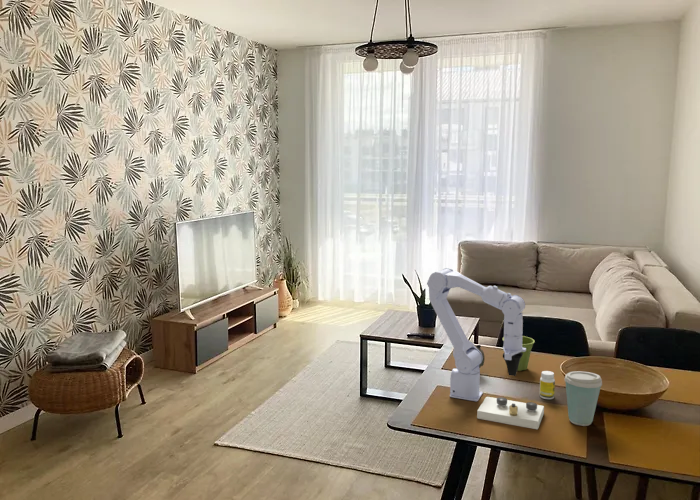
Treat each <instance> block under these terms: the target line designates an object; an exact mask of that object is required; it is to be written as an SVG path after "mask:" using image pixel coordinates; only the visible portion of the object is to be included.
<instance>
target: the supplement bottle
mask: <svg viewBox="0 0 700 500" xmlns="http://www.w3.org/2000/svg"><path fill="white" fill-rule="evenodd" d="M555 384H556V380H555V373H554V372H553V371H550V370H542V371H541V375H540V378H539V397H540V398H542V399H543V400H544V399H545V400H553V399H554V398H555V393H556V392H555V389H556V388H555V387H556V386H555Z"/></svg>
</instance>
